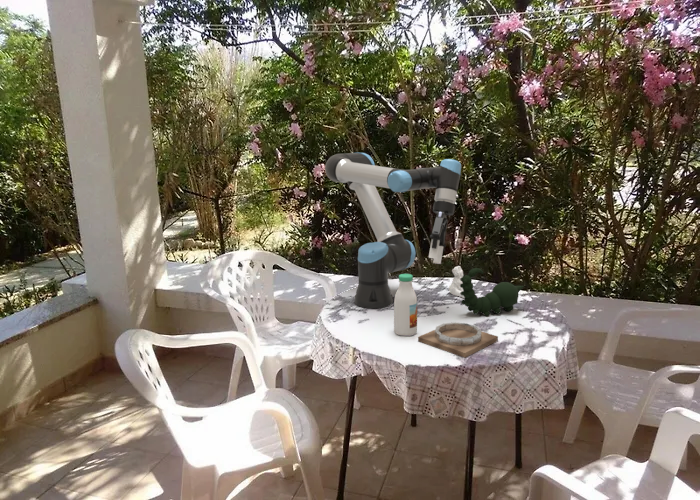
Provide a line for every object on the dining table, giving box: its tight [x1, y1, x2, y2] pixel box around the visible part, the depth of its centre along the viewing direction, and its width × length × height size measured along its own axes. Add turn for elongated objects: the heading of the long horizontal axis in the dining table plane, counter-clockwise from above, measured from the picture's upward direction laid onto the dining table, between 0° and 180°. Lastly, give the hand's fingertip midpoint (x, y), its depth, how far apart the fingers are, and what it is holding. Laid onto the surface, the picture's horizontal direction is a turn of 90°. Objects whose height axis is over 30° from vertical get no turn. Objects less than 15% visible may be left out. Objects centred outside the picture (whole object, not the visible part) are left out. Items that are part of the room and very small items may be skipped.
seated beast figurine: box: [448, 265, 465, 299], centre depth 215 cm, size 10×9×12 cm
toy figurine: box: [460, 267, 524, 317], centre depth 192 cm, size 9×19×25 cm
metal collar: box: [434, 322, 483, 346], centre depth 168 cm, size 14×14×2 cm
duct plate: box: [417, 329, 499, 358], centre depth 168 cm, size 18×18×2 cm
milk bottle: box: [393, 273, 418, 337], centre depth 174 cm, size 8×8×20 cm
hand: (434, 261), depth 185 cm, fingers open, 13 cm apart
